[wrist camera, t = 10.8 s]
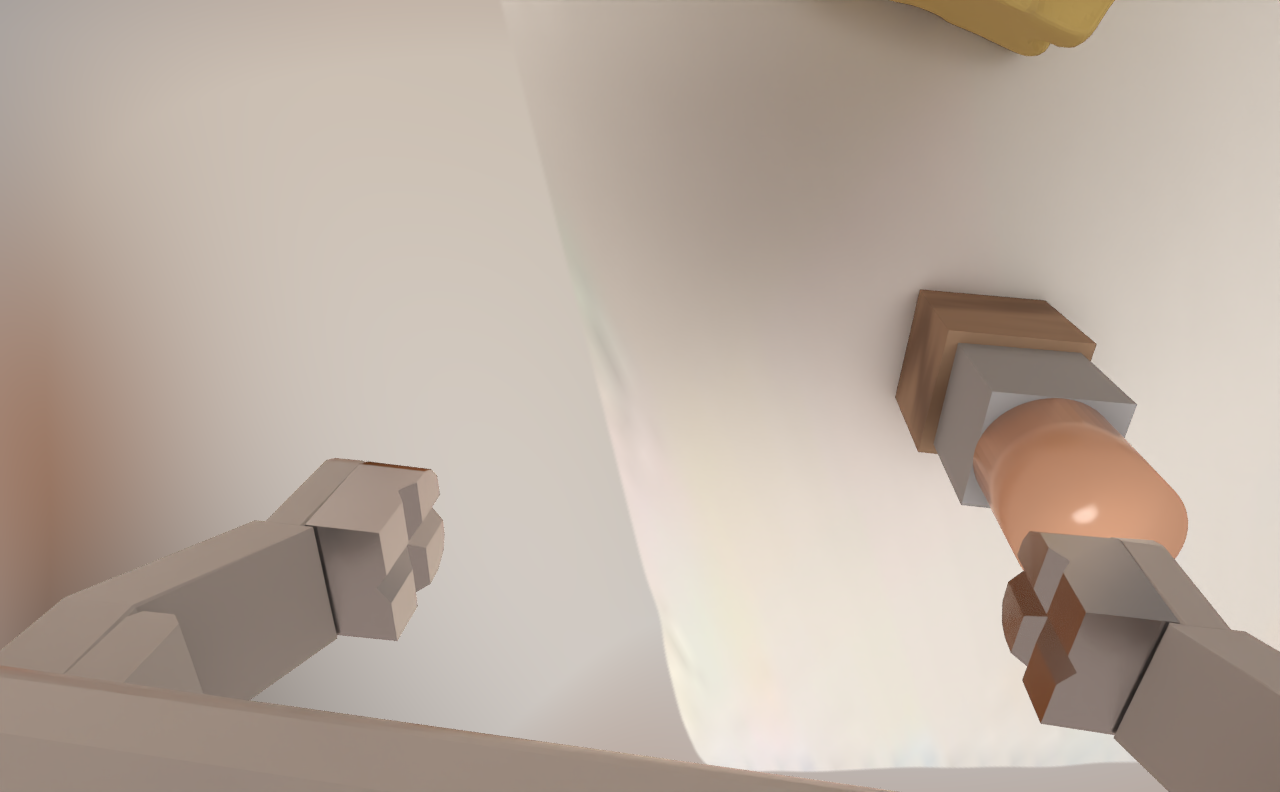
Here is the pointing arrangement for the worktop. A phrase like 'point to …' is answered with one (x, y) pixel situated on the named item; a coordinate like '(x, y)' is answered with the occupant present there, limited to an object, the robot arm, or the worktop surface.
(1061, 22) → the cheese
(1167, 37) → the worktop surface
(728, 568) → the worktop surface
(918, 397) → the walnut block
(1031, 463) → the peach brown rounded dome
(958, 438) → the grey block
